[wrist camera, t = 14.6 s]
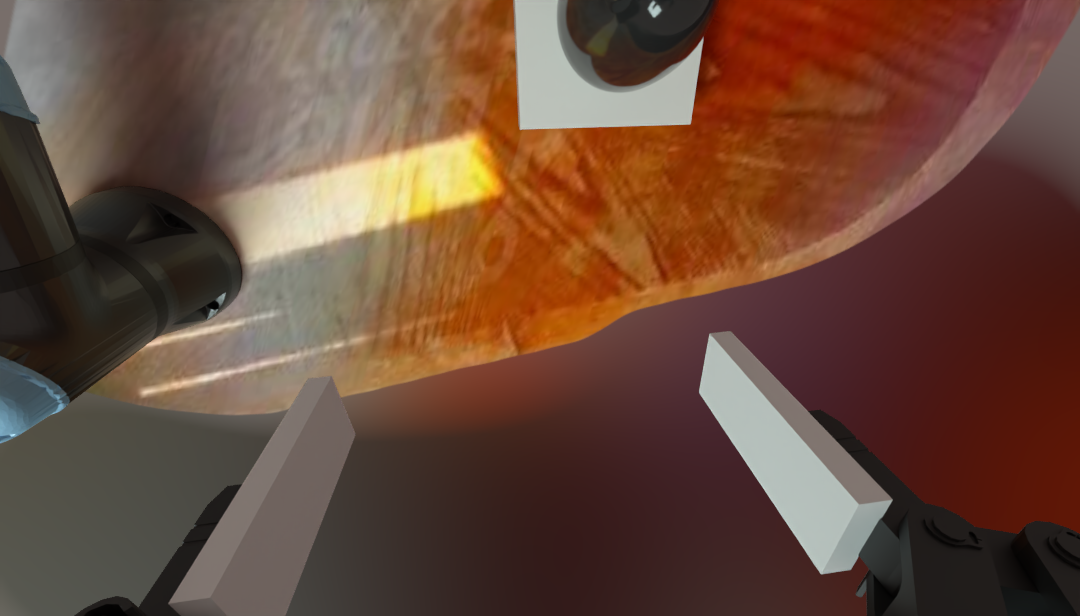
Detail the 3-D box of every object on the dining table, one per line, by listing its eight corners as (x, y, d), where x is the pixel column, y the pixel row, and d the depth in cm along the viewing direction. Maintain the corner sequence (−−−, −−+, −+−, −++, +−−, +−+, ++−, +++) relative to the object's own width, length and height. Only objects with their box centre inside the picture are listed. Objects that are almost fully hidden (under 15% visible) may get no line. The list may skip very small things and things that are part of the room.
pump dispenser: (554, -69, 30) (596, -191, 17) (686, -51, 31) (823, -152, 18) (543, 86, 35) (568, 87, 22) (657, 96, 36) (748, 103, 23)
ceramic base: (518, 125, 40) (520, 129, 36) (509, -93, 32) (510, -115, 28) (674, 120, 41) (690, 124, 37) (702, -92, 33) (726, -113, 29)
